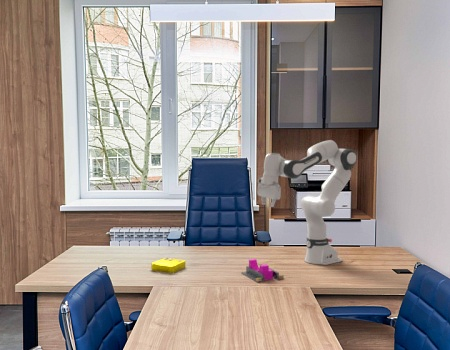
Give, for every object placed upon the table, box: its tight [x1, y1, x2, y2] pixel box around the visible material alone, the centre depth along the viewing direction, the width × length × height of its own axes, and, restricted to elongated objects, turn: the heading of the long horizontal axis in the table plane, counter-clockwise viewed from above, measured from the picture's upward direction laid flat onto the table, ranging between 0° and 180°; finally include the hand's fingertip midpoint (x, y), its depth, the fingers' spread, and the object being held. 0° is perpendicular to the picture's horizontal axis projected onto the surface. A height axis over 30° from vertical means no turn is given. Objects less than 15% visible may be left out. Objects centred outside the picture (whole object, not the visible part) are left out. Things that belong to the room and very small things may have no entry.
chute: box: [240, 263, 284, 283], centre depth 251 cm, size 16×18×4 cm
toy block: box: [248, 258, 274, 281], centre depth 252 cm, size 15×6×8 cm, turn 25°
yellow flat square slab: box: [150, 257, 186, 274], centre depth 266 cm, size 15×15×5 cm
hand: (267, 205), depth 264 cm, fingers open, 8 cm apart
